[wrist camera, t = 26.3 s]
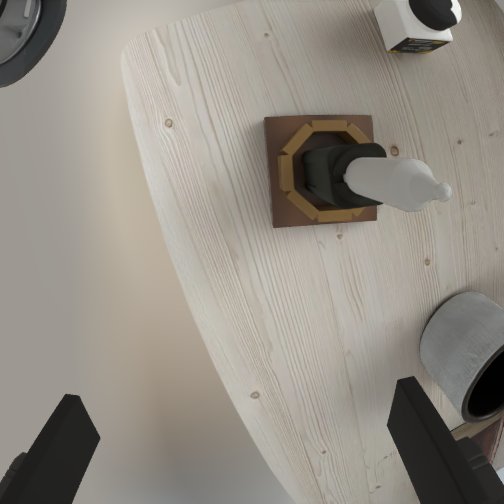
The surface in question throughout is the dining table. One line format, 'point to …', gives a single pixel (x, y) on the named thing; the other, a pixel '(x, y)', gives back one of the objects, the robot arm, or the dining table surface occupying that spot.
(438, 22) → the medicine bottle
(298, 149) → the stand
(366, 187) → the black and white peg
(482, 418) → the planter
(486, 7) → the dining table surface
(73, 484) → the robot arm
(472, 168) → the dining table surface
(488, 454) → the hardback book
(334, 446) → the dining table surface
